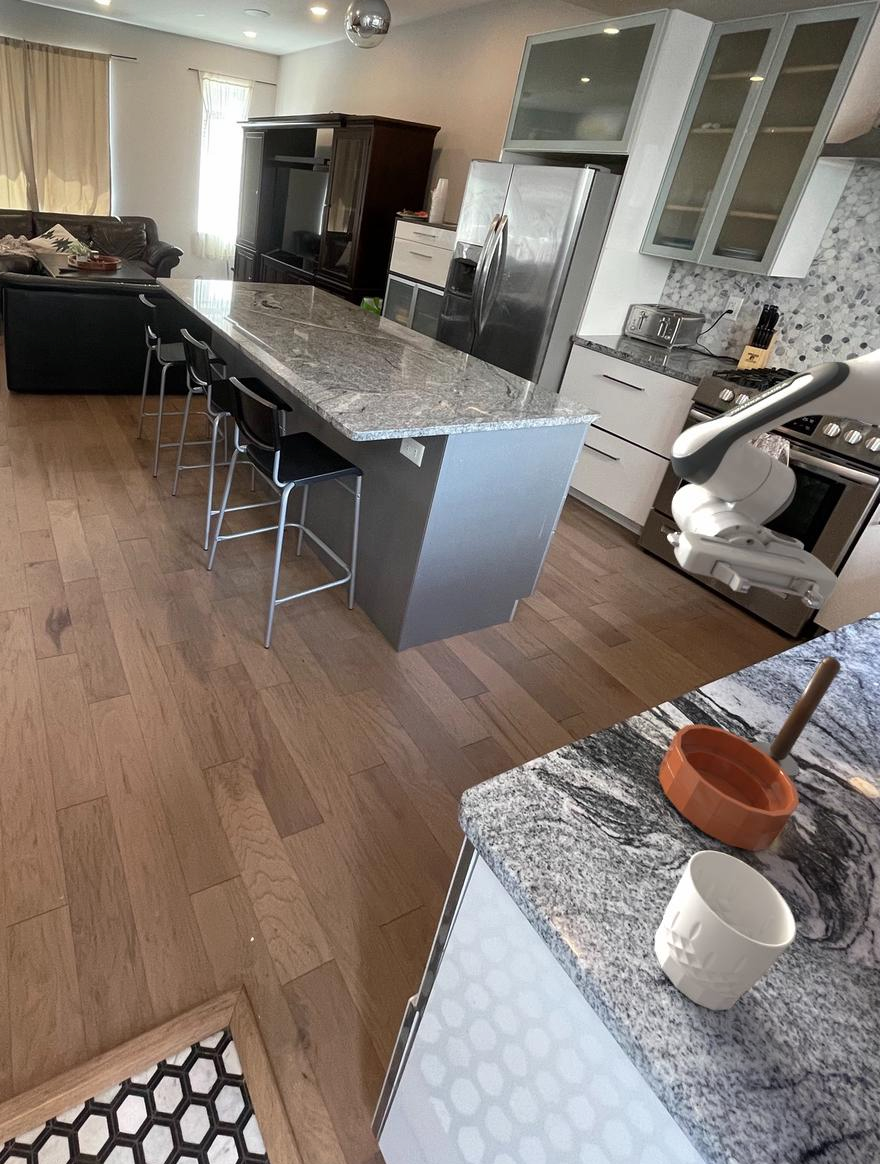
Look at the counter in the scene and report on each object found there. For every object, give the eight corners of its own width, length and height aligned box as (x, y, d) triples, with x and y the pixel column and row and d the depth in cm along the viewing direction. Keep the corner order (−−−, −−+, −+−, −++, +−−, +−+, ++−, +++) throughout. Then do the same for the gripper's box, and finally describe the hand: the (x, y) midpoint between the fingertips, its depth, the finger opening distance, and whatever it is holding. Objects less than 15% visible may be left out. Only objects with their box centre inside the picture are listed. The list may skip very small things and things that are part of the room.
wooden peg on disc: (778, 757, 82) (844, 649, 75) (801, 791, 77) (872, 679, 70) (737, 748, 83) (798, 639, 76) (756, 780, 78) (823, 668, 71)
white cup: (649, 903, 61) (688, 833, 57) (741, 955, 58) (790, 885, 54) (644, 979, 55) (688, 906, 51) (747, 1043, 51) (803, 970, 48)
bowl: (743, 773, 79) (763, 738, 76) (797, 866, 67) (823, 828, 65) (643, 750, 80) (660, 714, 78) (679, 837, 69) (701, 798, 66)
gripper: (671, 513, 96) (709, 558, 84) (810, 542, 94) (871, 593, 82) (655, 548, 99) (690, 597, 86) (791, 577, 97) (847, 632, 84)
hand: (779, 595), depth 84 cm, fingers open, 8 cm apart
